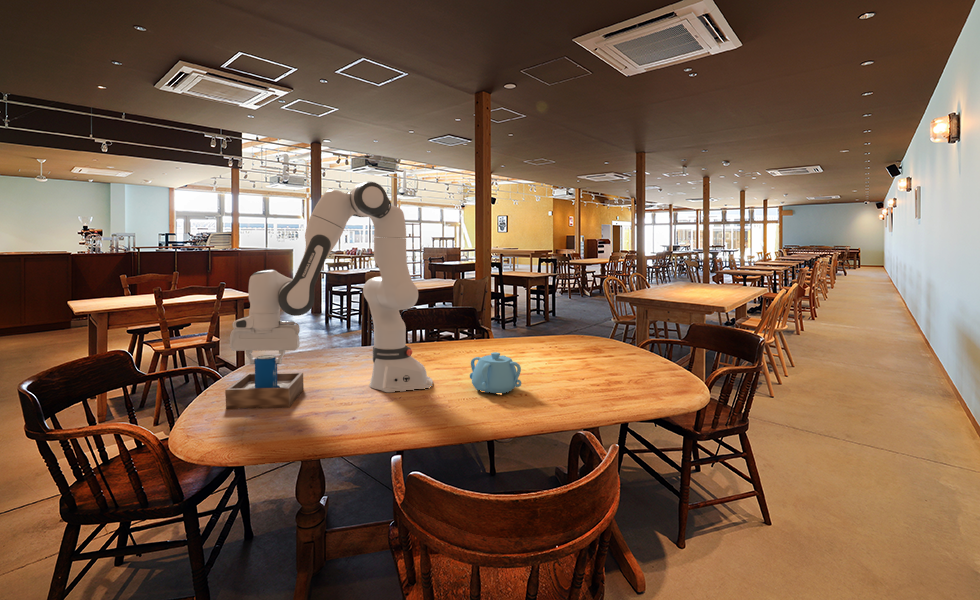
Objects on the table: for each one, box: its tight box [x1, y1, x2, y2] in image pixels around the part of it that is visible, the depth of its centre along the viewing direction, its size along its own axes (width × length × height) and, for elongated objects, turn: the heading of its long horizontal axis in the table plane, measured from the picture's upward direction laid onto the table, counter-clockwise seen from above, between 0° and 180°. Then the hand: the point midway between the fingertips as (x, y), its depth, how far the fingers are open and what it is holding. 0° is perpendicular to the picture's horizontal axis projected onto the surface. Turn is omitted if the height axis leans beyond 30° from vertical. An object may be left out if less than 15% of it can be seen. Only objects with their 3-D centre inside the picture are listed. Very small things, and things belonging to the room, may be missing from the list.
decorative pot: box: [469, 351, 522, 394], centre depth 163 cm, size 16×16×14 cm
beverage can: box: [254, 354, 278, 388], centre depth 148 cm, size 6×6×12 cm
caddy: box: [224, 372, 305, 410], centre depth 149 cm, size 18×18×6 cm
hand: (265, 363), depth 148 cm, fingers closed on beverage can, 6 cm apart
